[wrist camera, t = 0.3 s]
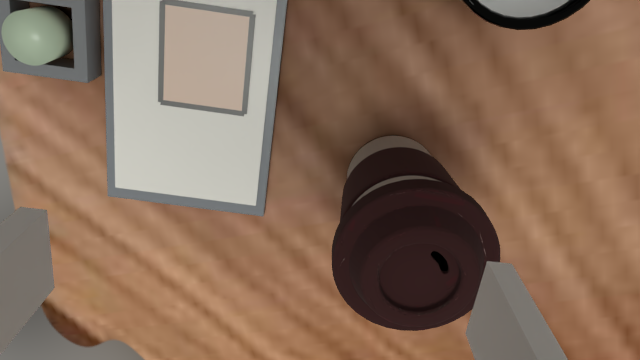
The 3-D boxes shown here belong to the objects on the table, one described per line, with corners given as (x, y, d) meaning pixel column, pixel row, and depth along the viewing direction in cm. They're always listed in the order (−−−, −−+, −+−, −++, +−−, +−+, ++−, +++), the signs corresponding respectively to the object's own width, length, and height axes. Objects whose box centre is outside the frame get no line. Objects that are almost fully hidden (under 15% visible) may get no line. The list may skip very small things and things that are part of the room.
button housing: (14, -20, 37) (-6, -18, 35) (99, -8, 38) (84, -5, 35) (21, 64, 40) (3, 71, 38) (101, 75, 40) (87, 82, 38)
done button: (23, 2, 37) (-2, 6, 34) (74, 9, 37) (54, 14, 34) (27, 53, 38) (4, 61, 36) (77, 60, 38) (58, 69, 36)
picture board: (105, -51, 37) (99, -52, 36) (290, -23, 37) (289, -23, 36) (110, 193, 44) (106, 197, 43) (264, 213, 45) (262, 218, 44)
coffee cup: (329, 227, 45) (331, 348, 32) (331, 116, 41) (333, 200, 28) (444, 228, 45) (496, 350, 31) (457, 117, 41) (522, 202, 27)
